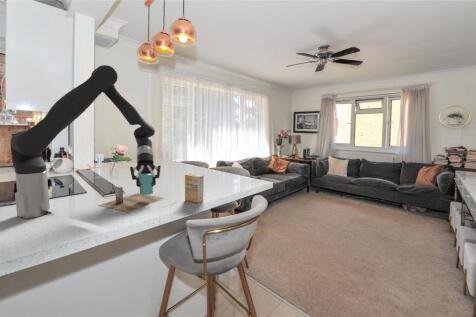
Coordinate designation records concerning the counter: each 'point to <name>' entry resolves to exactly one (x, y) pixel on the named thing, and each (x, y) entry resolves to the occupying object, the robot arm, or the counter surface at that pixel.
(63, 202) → the counter surface
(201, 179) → the supplement box
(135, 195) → the post stand
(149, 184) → the teal cylinder
